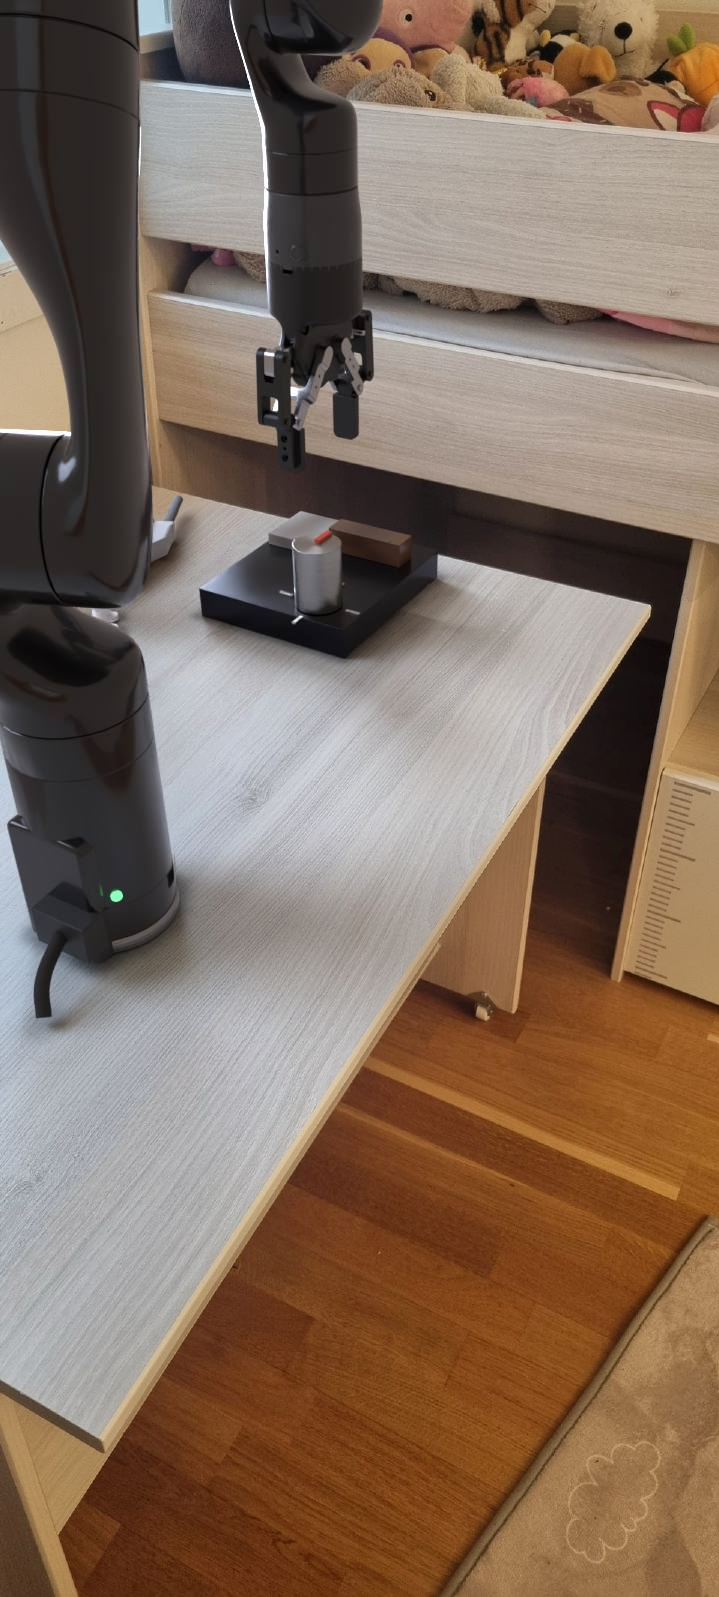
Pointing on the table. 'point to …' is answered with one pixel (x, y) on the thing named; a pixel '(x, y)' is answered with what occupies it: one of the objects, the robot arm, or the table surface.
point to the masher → (347, 538)
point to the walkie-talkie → (165, 531)
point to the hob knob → (317, 573)
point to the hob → (267, 606)
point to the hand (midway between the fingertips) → (320, 453)
